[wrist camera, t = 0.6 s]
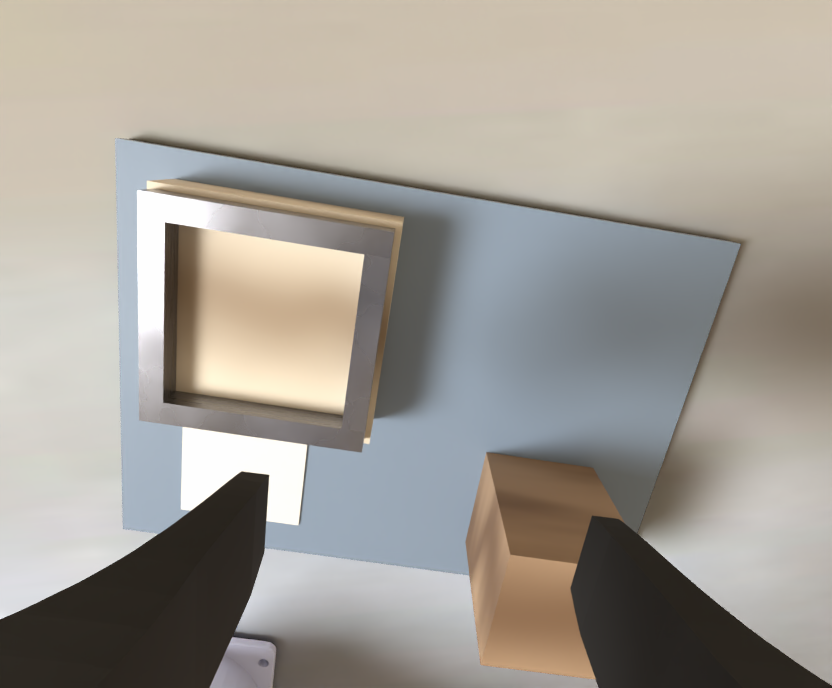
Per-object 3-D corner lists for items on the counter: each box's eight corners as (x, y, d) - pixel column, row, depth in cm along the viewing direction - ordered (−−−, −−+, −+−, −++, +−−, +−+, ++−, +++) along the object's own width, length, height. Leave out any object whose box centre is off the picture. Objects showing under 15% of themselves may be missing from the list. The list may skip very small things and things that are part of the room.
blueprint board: (609, 581, 25) (641, 652, 21) (132, 517, 24) (81, 580, 20) (728, 240, 20) (797, 258, 16) (127, 139, 19) (58, 133, 15)
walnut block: (565, 555, 23) (613, 681, 18) (465, 541, 23) (480, 664, 18) (593, 467, 22) (654, 574, 16) (486, 452, 22) (510, 554, 16)
